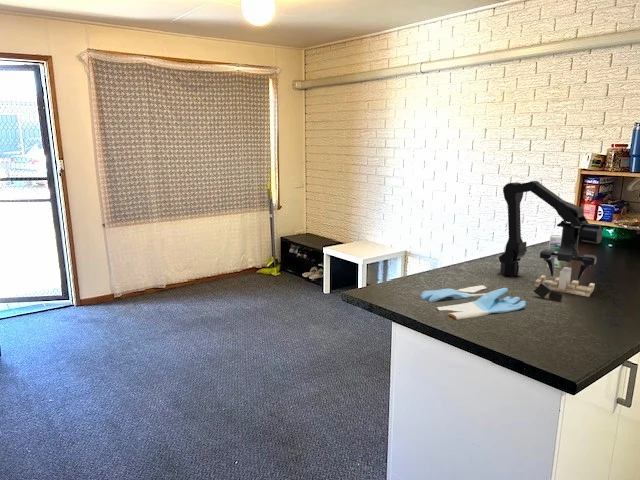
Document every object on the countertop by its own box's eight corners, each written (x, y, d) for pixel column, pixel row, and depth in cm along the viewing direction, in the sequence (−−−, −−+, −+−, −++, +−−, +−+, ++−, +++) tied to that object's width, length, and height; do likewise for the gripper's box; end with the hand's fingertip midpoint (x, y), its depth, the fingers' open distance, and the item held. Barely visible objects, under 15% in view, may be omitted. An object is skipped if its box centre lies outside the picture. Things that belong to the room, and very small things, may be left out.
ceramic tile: (558, 288, 179) (560, 271, 178) (562, 283, 185) (564, 266, 184) (565, 289, 178) (567, 272, 176) (569, 285, 184) (571, 267, 182)
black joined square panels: (554, 305, 169) (565, 294, 166) (554, 307, 167) (565, 296, 164) (534, 289, 172) (544, 278, 169) (533, 291, 170) (543, 280, 168)
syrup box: (546, 266, 213) (549, 236, 210) (547, 264, 218) (550, 233, 215) (560, 268, 210) (564, 237, 207) (560, 265, 215) (564, 234, 212)
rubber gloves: (410, 296, 173) (411, 279, 172) (482, 287, 184) (483, 271, 183) (456, 321, 148) (457, 302, 147) (535, 309, 159) (537, 291, 158)
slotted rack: (588, 296, 171) (589, 291, 171) (534, 286, 183) (534, 281, 182) (594, 289, 180) (594, 283, 180) (541, 280, 192) (542, 275, 191)
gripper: (538, 239, 177) (534, 278, 180) (594, 246, 166) (588, 287, 169) (545, 235, 185) (541, 272, 189) (599, 241, 174) (593, 280, 177)
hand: (565, 278), depth 181 cm, fingers open, 9 cm apart
